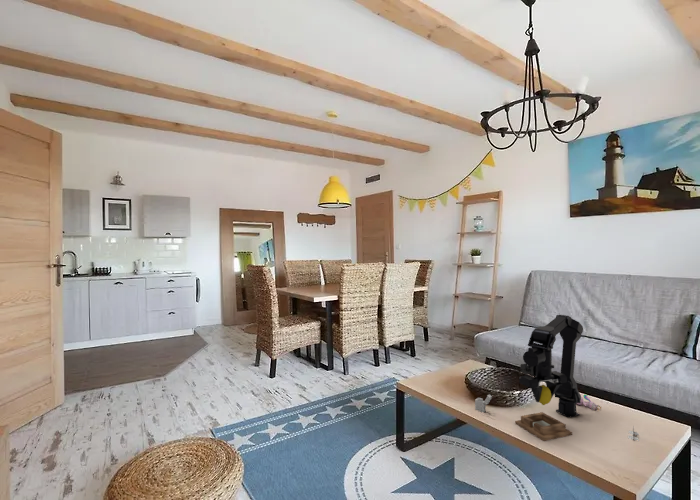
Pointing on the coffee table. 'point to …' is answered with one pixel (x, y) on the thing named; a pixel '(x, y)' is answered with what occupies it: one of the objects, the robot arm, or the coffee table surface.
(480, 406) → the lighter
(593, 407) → the unicorn toy
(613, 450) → the coffee table surface
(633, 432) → the car cutout
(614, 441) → the coffee table surface
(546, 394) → the lemon
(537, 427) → the tray
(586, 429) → the coffee table surface
